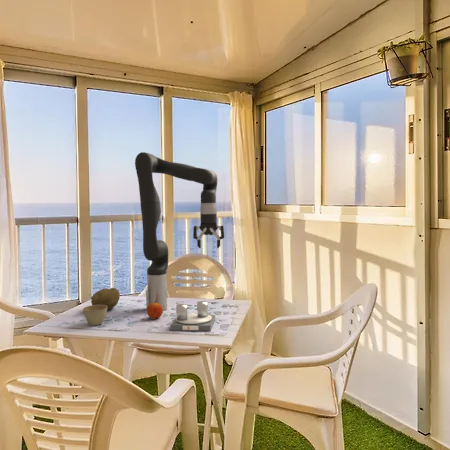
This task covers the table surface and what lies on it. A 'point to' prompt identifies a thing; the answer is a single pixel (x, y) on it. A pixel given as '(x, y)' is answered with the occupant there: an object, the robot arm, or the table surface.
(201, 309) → the cylinder
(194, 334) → the table surface
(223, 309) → the table surface
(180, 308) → the cylinder
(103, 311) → the flower pot
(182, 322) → the scale
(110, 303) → the decorative stone
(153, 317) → the fruit
